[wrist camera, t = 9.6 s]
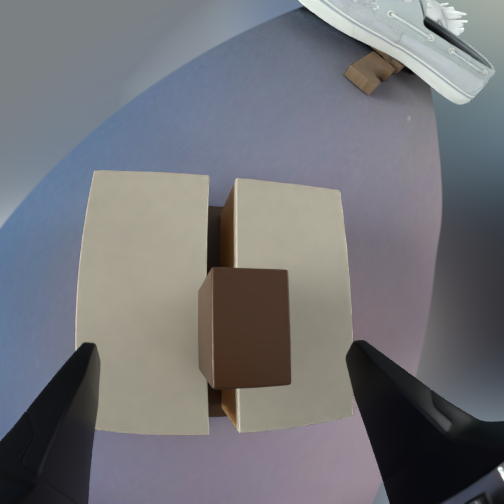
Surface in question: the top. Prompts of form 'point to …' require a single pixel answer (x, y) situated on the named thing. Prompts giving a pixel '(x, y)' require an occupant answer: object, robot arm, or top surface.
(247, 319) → the brown wooden block
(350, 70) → the wooden blocks
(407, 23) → the boat shoe
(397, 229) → the top surface
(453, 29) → the white spiky tuft
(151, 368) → the beige cardboard box
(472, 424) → the robot arm
